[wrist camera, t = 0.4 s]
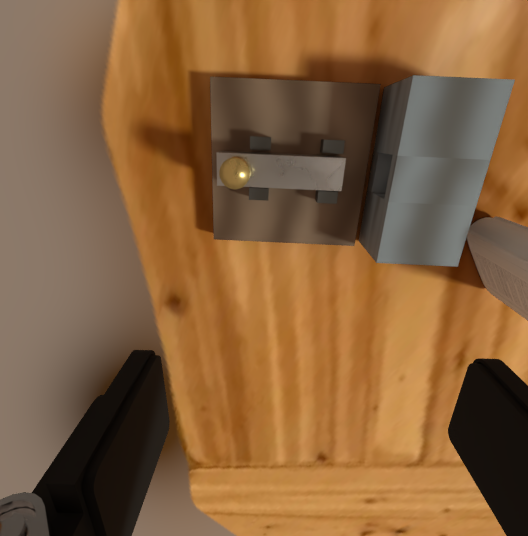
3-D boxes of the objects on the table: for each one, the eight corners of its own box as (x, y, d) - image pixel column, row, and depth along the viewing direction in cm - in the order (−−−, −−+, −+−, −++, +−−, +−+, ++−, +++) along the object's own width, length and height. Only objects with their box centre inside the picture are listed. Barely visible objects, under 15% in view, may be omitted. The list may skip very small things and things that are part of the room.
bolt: (221, 181, 33) (211, 190, 28) (221, 150, 32) (210, 154, 26) (335, 186, 33) (348, 196, 28) (339, 156, 32) (353, 160, 26)
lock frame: (216, 234, 38) (205, 254, 31) (213, 80, 31) (198, 66, 25) (425, 243, 38) (457, 266, 31) (464, 91, 31) (514, 79, 25)
